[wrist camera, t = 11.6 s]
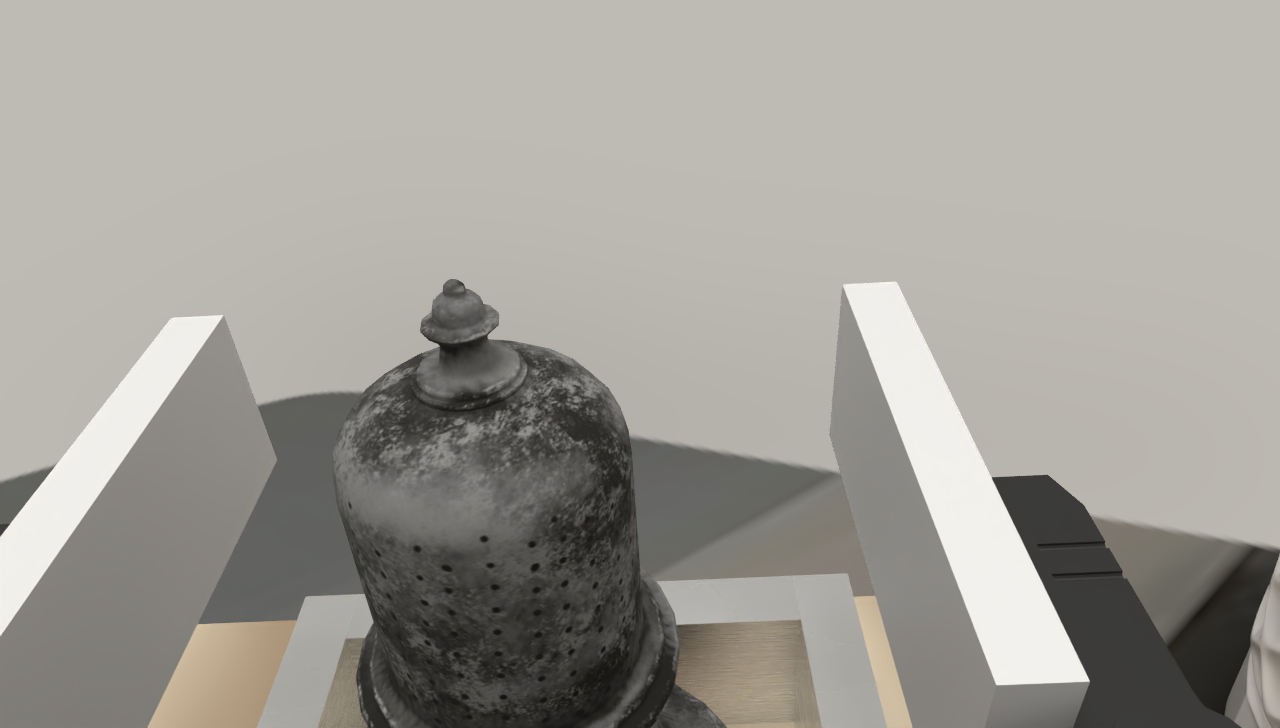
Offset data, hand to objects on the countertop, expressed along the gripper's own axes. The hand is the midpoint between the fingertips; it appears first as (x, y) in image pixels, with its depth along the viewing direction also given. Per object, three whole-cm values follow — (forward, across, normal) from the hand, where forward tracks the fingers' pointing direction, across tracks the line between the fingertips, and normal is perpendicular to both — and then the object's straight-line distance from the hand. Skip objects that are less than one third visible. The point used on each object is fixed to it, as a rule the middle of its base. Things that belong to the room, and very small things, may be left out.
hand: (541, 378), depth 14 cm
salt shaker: (-5, 0, -8) cm, 9 cm away
